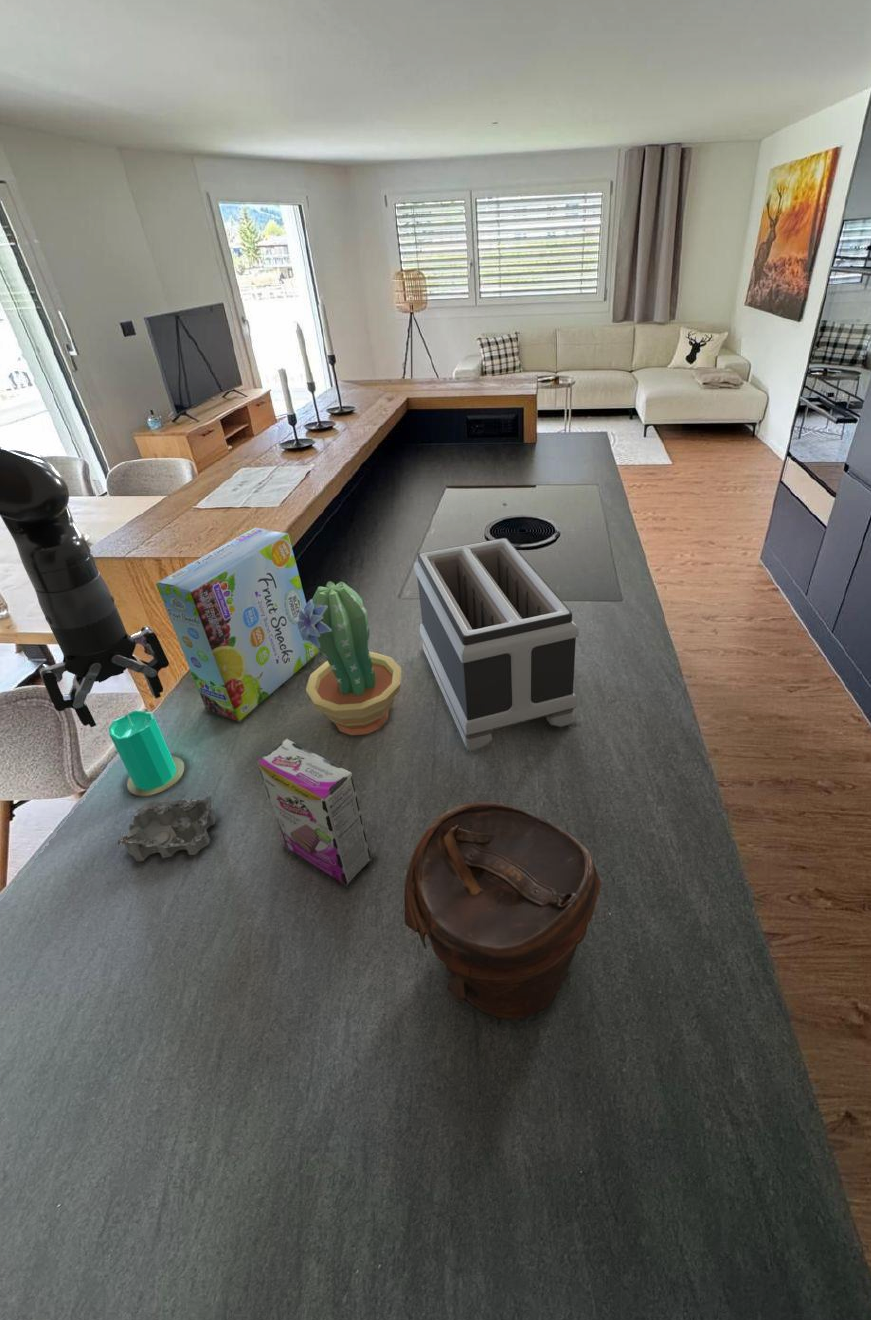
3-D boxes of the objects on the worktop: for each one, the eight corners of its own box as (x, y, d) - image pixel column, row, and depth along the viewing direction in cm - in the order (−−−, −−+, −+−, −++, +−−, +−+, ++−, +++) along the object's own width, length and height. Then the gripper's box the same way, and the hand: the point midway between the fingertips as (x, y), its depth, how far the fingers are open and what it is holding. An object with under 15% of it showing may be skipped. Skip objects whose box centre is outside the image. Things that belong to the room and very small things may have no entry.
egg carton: (123, 864, 81) (111, 844, 78) (146, 818, 87) (135, 798, 85) (205, 857, 81) (196, 837, 79) (222, 811, 87) (214, 791, 85)
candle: (183, 773, 94) (157, 713, 87) (143, 796, 90) (113, 736, 84) (166, 754, 97) (140, 695, 91) (127, 776, 94) (97, 716, 87)
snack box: (286, 644, 122) (255, 524, 109) (321, 654, 119) (293, 532, 105) (201, 710, 106) (151, 580, 92) (238, 724, 103) (193, 590, 89)
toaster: (504, 620, 127) (501, 525, 115) (576, 726, 99) (582, 616, 88) (417, 638, 122) (405, 542, 111) (467, 755, 95) (458, 643, 83)
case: (423, 883, 77) (407, 782, 67) (585, 884, 76) (593, 781, 66) (402, 1044, 62) (379, 944, 52) (604, 1047, 61) (618, 946, 51)
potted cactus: (311, 699, 108) (280, 573, 94) (398, 679, 111) (380, 555, 98) (319, 759, 95) (284, 624, 82) (416, 735, 99) (399, 601, 85)
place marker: (116, 796, 91) (116, 795, 90) (143, 756, 97) (143, 755, 97) (169, 796, 90) (169, 795, 90) (193, 756, 97) (192, 755, 97)
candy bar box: (284, 850, 81) (254, 761, 73) (311, 823, 85) (286, 735, 76) (346, 890, 76) (322, 799, 67) (373, 859, 80) (353, 769, 71)
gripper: (131, 581, 84) (167, 675, 93) (9, 621, 76) (61, 720, 85) (149, 600, 80) (186, 698, 88) (22, 645, 71) (76, 748, 80)
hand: (124, 709), depth 87 cm, fingers open, 8 cm apart
